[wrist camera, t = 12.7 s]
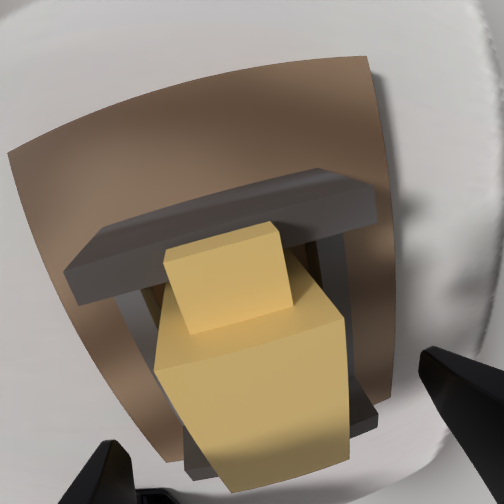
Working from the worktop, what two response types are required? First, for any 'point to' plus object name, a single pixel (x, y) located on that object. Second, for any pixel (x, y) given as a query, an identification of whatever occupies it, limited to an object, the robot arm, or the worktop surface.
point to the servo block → (253, 358)
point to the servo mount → (217, 216)
